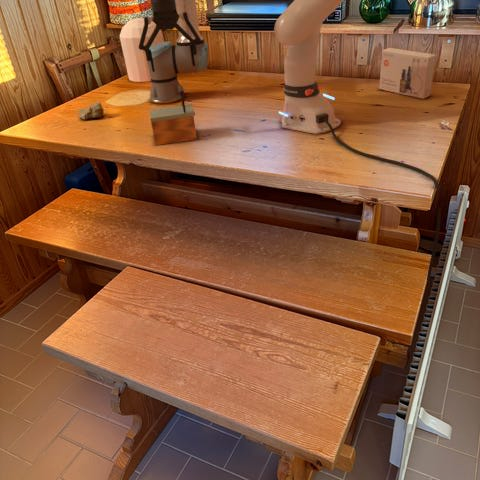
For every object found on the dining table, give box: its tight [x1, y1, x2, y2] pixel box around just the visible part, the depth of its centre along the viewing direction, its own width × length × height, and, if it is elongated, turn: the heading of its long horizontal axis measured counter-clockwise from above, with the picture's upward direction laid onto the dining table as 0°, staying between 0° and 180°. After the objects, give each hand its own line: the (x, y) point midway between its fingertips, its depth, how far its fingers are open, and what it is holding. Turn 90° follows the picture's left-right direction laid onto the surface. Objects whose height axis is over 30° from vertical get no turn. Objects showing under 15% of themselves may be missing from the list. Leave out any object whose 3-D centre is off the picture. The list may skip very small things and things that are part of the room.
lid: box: [149, 84, 196, 123], centre depth 162 cm, size 16×9×9 cm, turn 101°
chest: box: [150, 116, 198, 146], centre depth 167 cm, size 15×9×9 cm, turn 101°
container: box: [119, 17, 164, 83], centre depth 235 cm, size 21×21×28 cm
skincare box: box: [378, 47, 437, 100], centre depth 184 cm, size 21×6×16 cm, turn 40°
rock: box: [78, 101, 105, 121], centre depth 195 cm, size 11×6×10 cm
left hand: (173, 68), depth 155 cm, fingers open, 13 cm apart
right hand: (210, 11), depth 162 cm, fingers open, 8 cm apart
